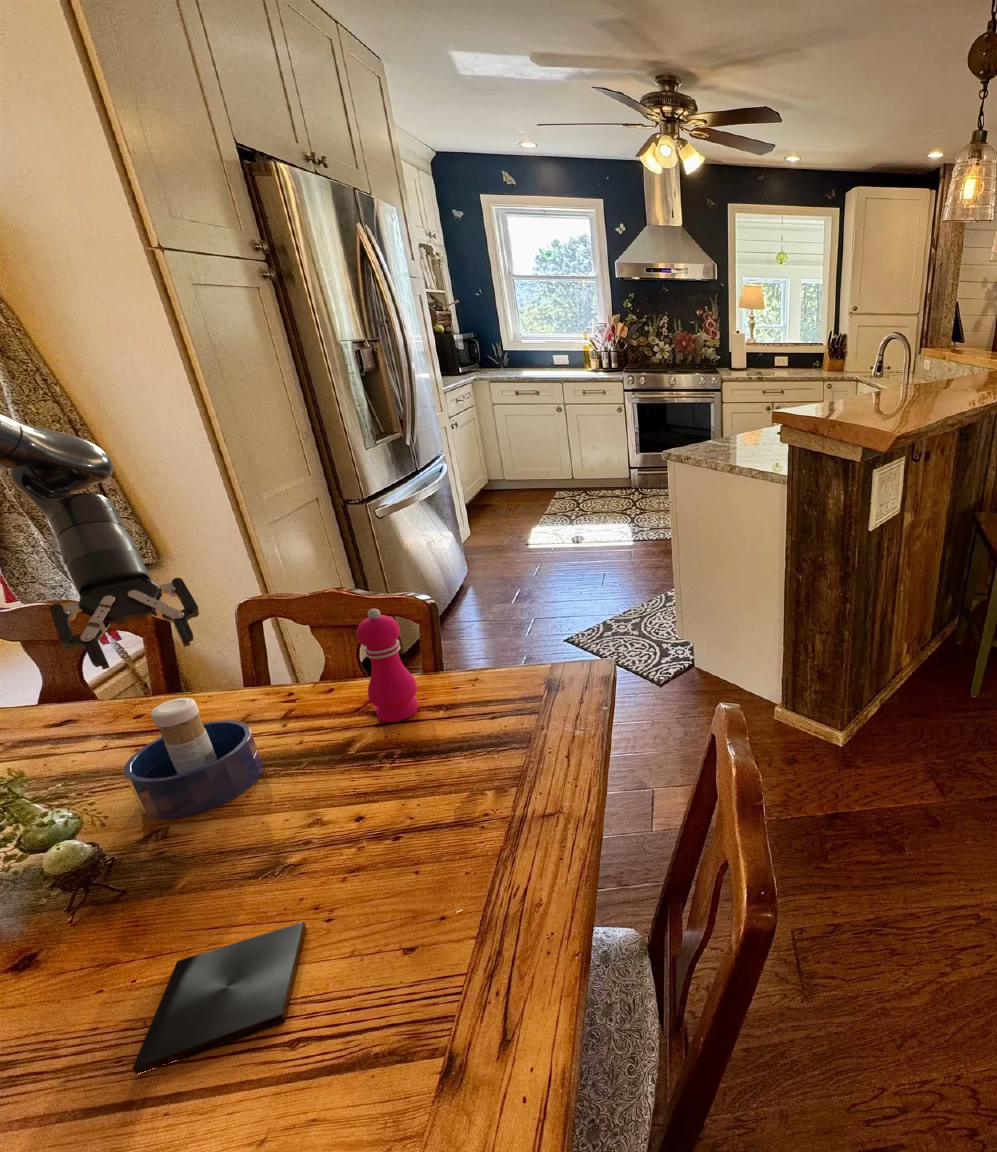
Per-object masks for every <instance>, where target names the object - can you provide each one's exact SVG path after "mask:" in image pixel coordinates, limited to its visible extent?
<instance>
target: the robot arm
mask: <svg viewBox="0 0 997 1152" xmlns="http://www.w3.org/2000/svg"><path fill="white" fill-rule="evenodd" d="M1 469H9V477H10V480H11V482H12V483H13V484H14V485H15V486H16V488H17V489H18V490H19V491H21V492H22V493H23V494H24V495H25V496H26V498H27V499H29V500H30V501H31V502H32V503H33V504H34V505H35V507H36V508H37V509H38V510H39V511H40V512H41V513H42V514H43V515H44V517H46V519H47V520H48V522H49V524H50V526H51V529H52V531H53V533H54V536H55V538H56V540H57V542H58V546H59V552H60V555H61V557H62V562H63V564H64V565H65V566H66V569H67V571H68V574H69V575H70V578H71V580H72V583H73V585H74V586H75V590H76V591H77V593H78V596H79V601H78V602H77V603H72V604H65V605H62V604H61V603H53V604H51V605H50V606H49V609H48V610H49V611H50V615H51V618H52V621H53V624H54V627H55V631H56V633H57V637H58V640H59V641H60V643H61V644H62V647H63V648H64V649H66V650H72V649H74V648H83V649H85V651H86V654H87V656H88V658H89V660H90V662H91V664H92V666H94V668H98V667H101V669H102V670H107V669H111V667H110V664H109V662H108V660H107V657H106V655H105V653H104V652H103V651H104V650H103V649H102V647H101V644H100V642H99V641H100V639H101V638H102V636H103V635H105V633H107V631H108V629H109V627H110V626H111V625H116V626H122V625H126V624H128V623H130V622H134V621H142V620H145V619H147V617H149V616H152V617H155V618H157V619H159V620H165V621H167V622H169V623H172V624H173V626H174V628H175V631H176V633H177V635H178V638H179V639H180V641H181V643H182V645H183V647H184V648H185V647H190V646H191V642H193V641H194V638H195V637H194V633H193V631H192V628H191V626H190V624H189V622H188V621H189V620H190V619H192V618H197V617H198V616H199V615H200V611H199V606H198V603H197V602H196V601H195V599H194V597H193V595H192V594H191V591H190V590H189V588H188V586H187V585H186V583H185V582H184V579H182V577H174V578H173V579H172V581H171V582H168V583H164V584H160V585H158V584H156V583H155V582H154V581H153V580H152V578H151V575H150V573H149V571H148V569H147V567H146V565H145V563H144V561H143V558H142V556H141V554H140V552H139V551H140V550H139V548H138V546H137V545H136V543H135V541H134V540H133V538H132V537H131V536H130V534H129V533H128V530H127V529H126V527H125V525H124V522H123V521H122V519H121V516H120V514H119V512H118V510H117V508H116V506H115V505H114V503H113V501H111V500H110V499H109V498H107V497H106V496H104V495H102V494H98V493H94V492H93V493H91V492H84V493H83V492H81V491H83V490H86V489H89V488H91V487H93V486H95V485H98V484H100V483H102V482H105V481H106V480H107V479H109V478H110V477H111V476H112V474H113V473H114V472H113V471H114V464H113V461H112V459H111V457H110V456H109V455H108V454H107V452H106V451H104V450H103V449H102V448H100V446H98V445H96V444H94V443H93V442H91V441H89V440H87V439H84V438H81V437H79V436H76V435H73V434H69V433H65V432H61V431H58V430H53V429H49V428H45V427H41V426H38V425H37V426H36V425H32V424H28V423H23V422H20V421H17V420H15V419H13V418H11V417H9V416H7V415H5V414H3V413H1V412H0V470H1ZM79 492H80V493H79ZM163 594H168V595H169V596H170V597H172V598H176V597H177V598H178V600H179V601H180V603H181V605H182V606H183V609H181V610H179V609H177V608H174V607H172V606H170V605H168V603H165V602H163V601H161V600H160V599H161V597H162V596H163ZM79 613H83V614H85V615H87V616H89V617H90V619H89V620H88V622H87V626H86V627H85V629H84V630H83V632H82V633H81V634H74V633H73V630H72V627H71V624H70V622H73V621H74V620H76V618H77V614H79Z"/></svg>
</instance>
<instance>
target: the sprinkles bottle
mask: <svg viewBox="0 0 997 1152" xmlns="http://www.w3.org/2000/svg"><path fill="white" fill-rule="evenodd" d="M150 717H151V720H152V722H153V724H154V726H156V727H157V729H158V731H159V733H160V735H161V737H162V738H163V740H164V743H165V746H166V748H167V751H168V753H169V756H170V758H171V761H172V763H173V765H174V767H175V770H176V772H177V773H178V775H180V774H184V773H187V772H190V771H193V770H196V769H199V768H202V767H204V766H206V765H208V764H210V763H212V762H214V761H217V757H216V754H215V752H214V749H213V747H212V744H211V741H210V739H209V736H208V734H207V732H206V729H205V728H204V726H203V724H202V723H203V722H202V719H201V717H200V710H199V707H198V705H197V703H196V701H195V699H193V698H190V697H179V698H175V699H170V700H168V701H164V702H162V703H160V704H159V705H157V706H156V707H153V709H152V710H151V712H150Z"/></svg>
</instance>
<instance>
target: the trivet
mask: <svg viewBox="0 0 997 1152" xmlns="http://www.w3.org/2000/svg"><path fill="white" fill-rule="evenodd" d="M307 930H308V929H307V926H306V923H305V921H302V922H298V923H295V924H292V925H289V926H286V927H282V928H278V929H275V930H273V931H269V932H265V933H262V934H259V935H256V936H254V937H250V938H247V939H243V940H240V941H237V942H233V943H230V944H227V945H224V946H220V947H218V948H215V949H212V950H208V951H205V952H201V953H199V954H194V955H192V956H188V957H186V958H182V959H178V960H176V963H175V965H174V968H173V970H172V971H171V972H172V973H171V975H170V977H169V980H168V982H167V985H166V986H165V987H166V988H165V989H164V992H163V994H162V996H161V999H160V1001H159V1004H158V1006H157V1008H156V1010H155V1013H154V1016H153V1018H152V1020H151V1023H150V1025H149V1028H148V1030H147V1032H146V1034H145V1037H144V1040H143V1042H142V1044H141V1047H140V1050H139V1052H138V1053H137V1056H136V1059H135V1061H134V1064H133V1066H132V1071H133V1072H134V1073H135V1075H136V1074H138V1073H140V1072H141V1073H142V1072H144V1071H148V1070H150V1069H151V1070H152V1068H156V1067H160V1066H162V1065H163V1064H168V1063H170V1062H172V1061H175V1060H180V1061H182V1060H181V1059H183V1060H185V1059H184V1058H186V1059H188V1058H191V1057H193V1056H196V1054H197V1055H199V1054H202V1053H204V1052H208V1051H210V1050H213V1049H215V1048H219V1047H221V1045H222V1046H224V1045H226V1044H229V1043H232V1041H233V1042H235V1041H238V1040H241V1039H243V1038H247V1037H249V1036H251V1035H255V1034H257V1033H260V1032H263V1031H266V1030H268V1029H270V1028H275V1027H277V1026H279V1025H282V1024H285V1023H286V1021H287V1017H288V1012H289V1009H290V1003H291V1000H292V995H293V990H294V986H295V982H296V978H297V973H298V968H299V965H300V960H301V955H302V952H303V947H304V944H305V943H304V942H305V938H306V934H307ZM209 1049H210V1050H209ZM207 1050H208V1051H207ZM201 1052H202V1053H201ZM190 1056H191V1057H190Z"/></svg>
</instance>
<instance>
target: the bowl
mask: <svg viewBox="0 0 997 1152" xmlns="http://www.w3.org/2000/svg"><path fill="white" fill-rule="evenodd" d="M202 724H203V726H204V728H205V729H206V732H207V734H208V736H209V739H210V741H211V744H212V747H213V749H214V752H215V754H216V757H217V761H214V762H212V763H210V764H208V765H206V766H204V767H202V768H199V769H196V770H193V771H190V772H187V773H184V774H180V775H178V773H177V772H176V770H175V767H174V765H173V763H172V761H171V758H170V756H169V753H168V751H167V748H166V746H165V743H164V740H163V738H162V736H160V737H158V738H156V739H155V740H152V741H151V742H150V743H148V744H146V745H144V746H142V747H141V748H140V749H139V750H137V751H135V753H134V754H133V755H131V756H130V757H129V759H128V760H127V762H126V763H125V765H123V775H124V777H125V779H126V782H127V784H128V786H129V789H130V790H131V792H132V794H133V796H134V799H135V801H136V802H137V805H138V807H139V809H140V811H142V812H143V814H144V815H145V816H146V817H148V818H151V819H154V820H155V819H156V820H176V819H182V818H187V817H192V816H196V815H199V814H203V813H204V812H207V811H211V810H213V809H215V808H218V807H220V806H222V805H224V804H226V803H228V802H230V801H232V800H234V799H235V798H237V797H238V796H240V795H242V794H243V793H245V792H246V791H247V790H248V789H250V788H251V787H252V786H253V785H255V783H256V782H257V781H258V780H259V778H260V777H261V775H262V773H263V771H264V763H263V760H262V757H261V754H260V751H259V748H258V746H257V743H256V740H255V738H254V735H253V733H252V729H251V727H250V726H249V724H246V723H245V722H243V721H239V720H233V719H224V720H212V721H206V722H202Z"/></svg>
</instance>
